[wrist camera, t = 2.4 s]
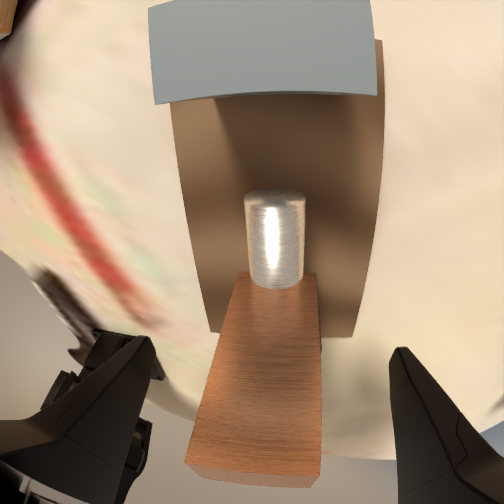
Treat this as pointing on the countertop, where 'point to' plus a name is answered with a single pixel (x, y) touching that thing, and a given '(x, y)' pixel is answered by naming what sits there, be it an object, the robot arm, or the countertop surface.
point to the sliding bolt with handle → (265, 360)
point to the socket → (261, 48)
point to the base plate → (288, 176)
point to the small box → (6, 16)
